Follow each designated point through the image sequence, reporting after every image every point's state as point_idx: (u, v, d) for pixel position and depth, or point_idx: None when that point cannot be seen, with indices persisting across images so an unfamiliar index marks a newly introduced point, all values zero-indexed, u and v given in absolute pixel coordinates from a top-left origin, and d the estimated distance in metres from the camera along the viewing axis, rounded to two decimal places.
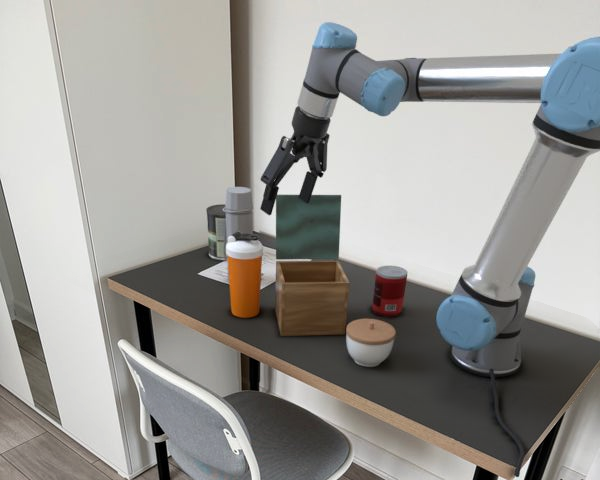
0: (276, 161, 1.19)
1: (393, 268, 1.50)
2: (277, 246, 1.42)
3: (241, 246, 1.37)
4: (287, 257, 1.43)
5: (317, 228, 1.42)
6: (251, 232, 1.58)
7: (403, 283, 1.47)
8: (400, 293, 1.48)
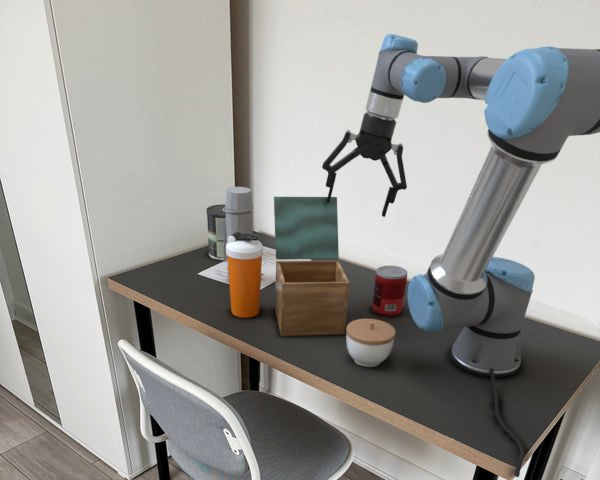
0: (335, 149, 1.36)
1: (393, 268, 1.50)
2: (277, 246, 1.43)
3: (241, 246, 1.37)
4: (287, 256, 1.43)
5: (315, 228, 1.44)
6: (251, 232, 1.58)
7: (403, 283, 1.47)
8: (400, 293, 1.48)
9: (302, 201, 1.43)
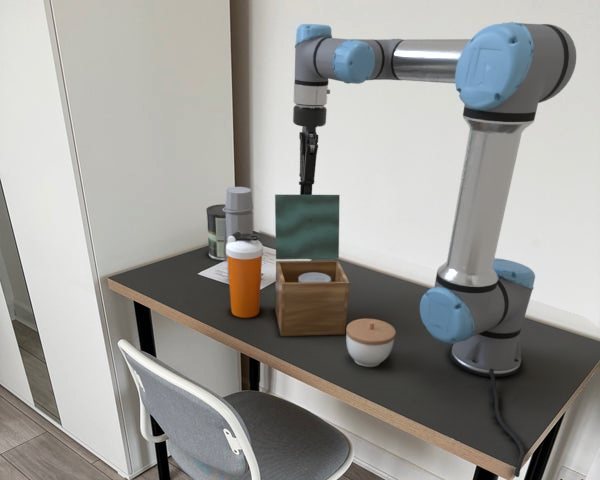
0: None
1: (318, 275, 1.42)
2: (277, 246, 1.42)
3: (241, 246, 1.37)
4: (287, 257, 1.43)
5: (316, 228, 1.43)
6: (251, 232, 1.58)
7: None
8: None
9: (304, 200, 1.40)
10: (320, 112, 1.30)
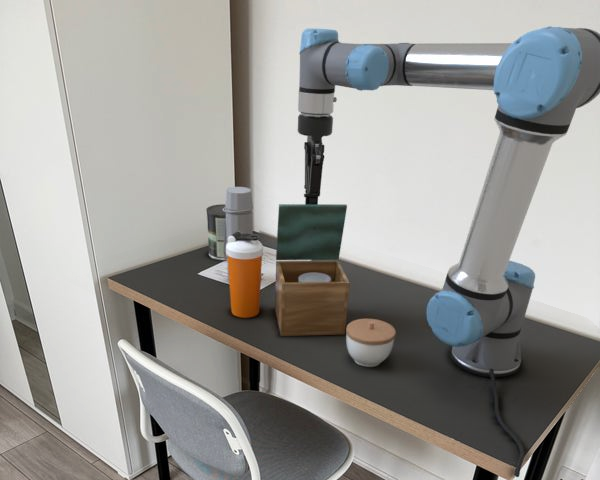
0: None
1: (318, 275, 1.42)
2: (278, 249, 1.41)
3: (241, 246, 1.37)
4: (287, 258, 1.43)
5: (319, 234, 1.39)
6: (251, 232, 1.58)
7: None
8: None
9: (309, 211, 1.33)
10: (326, 121, 1.23)
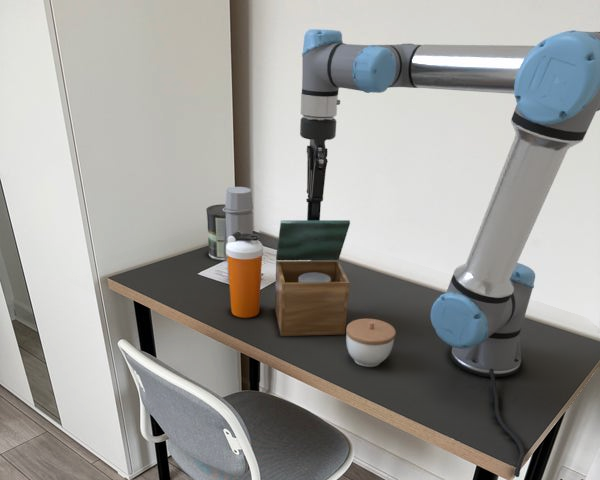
0: None
1: (318, 275, 1.42)
2: (278, 253, 1.40)
3: (241, 246, 1.37)
4: (287, 259, 1.43)
5: (320, 243, 1.38)
6: (251, 232, 1.58)
7: None
8: None
9: (311, 226, 1.31)
10: (330, 124, 1.20)
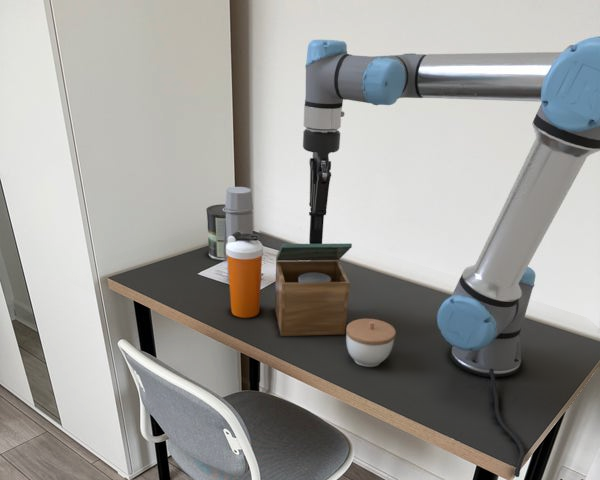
0: None
1: (318, 275, 1.42)
2: (278, 258, 1.40)
3: (241, 246, 1.37)
4: (287, 260, 1.43)
5: (321, 254, 1.38)
6: (251, 232, 1.58)
7: None
8: None
9: (312, 248, 1.31)
10: (334, 137, 1.17)
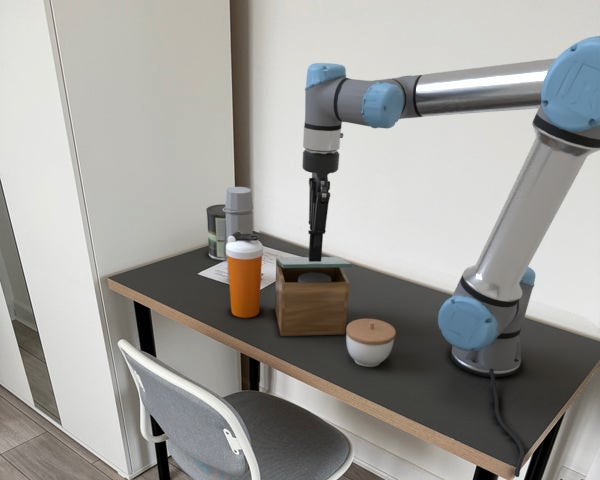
0: None
1: (318, 275, 1.42)
2: (278, 262, 1.41)
3: (241, 246, 1.37)
4: None
5: None
6: (251, 232, 1.58)
7: None
8: None
9: None
10: (333, 158, 1.18)
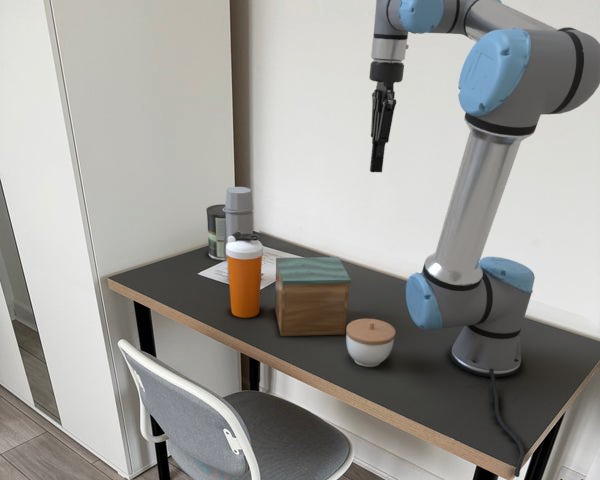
0: None
1: None
2: None
3: (241, 246, 1.37)
4: None
5: None
6: (251, 232, 1.58)
7: None
8: None
9: None
10: (399, 67, 1.29)
